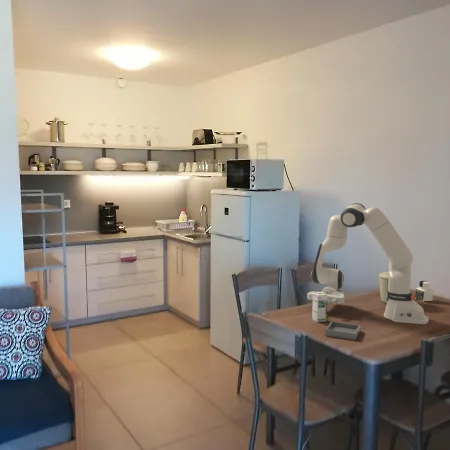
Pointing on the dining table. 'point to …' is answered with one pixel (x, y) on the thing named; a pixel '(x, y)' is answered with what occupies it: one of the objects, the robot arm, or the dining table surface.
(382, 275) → the canister
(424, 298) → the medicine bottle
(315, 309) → the syrup box
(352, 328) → the tray
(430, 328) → the dining table surface
